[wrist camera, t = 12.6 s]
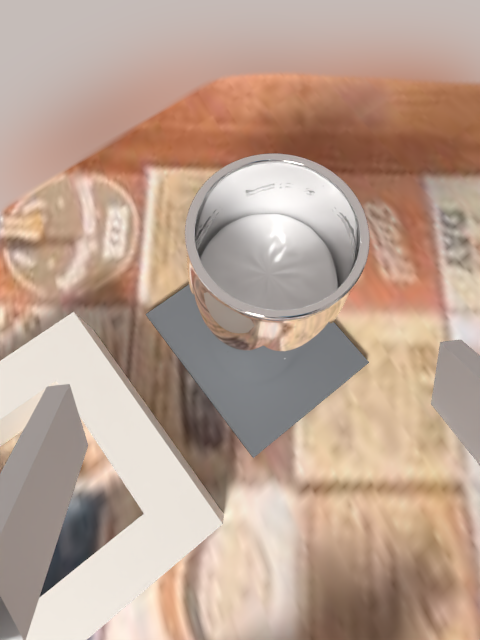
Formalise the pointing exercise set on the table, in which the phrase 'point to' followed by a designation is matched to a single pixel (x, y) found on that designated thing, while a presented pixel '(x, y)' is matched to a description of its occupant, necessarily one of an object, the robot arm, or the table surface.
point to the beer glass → (272, 259)
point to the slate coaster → (257, 397)
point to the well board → (128, 461)
